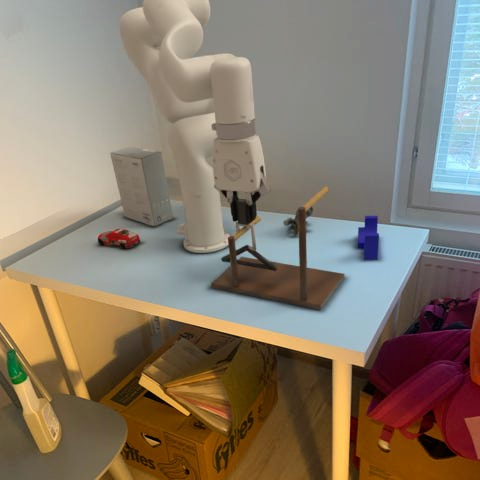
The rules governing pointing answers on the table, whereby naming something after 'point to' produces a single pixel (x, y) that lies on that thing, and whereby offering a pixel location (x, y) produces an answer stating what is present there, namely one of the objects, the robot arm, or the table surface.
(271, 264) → the hanger
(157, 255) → the table surface
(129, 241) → the race car
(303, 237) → the rack
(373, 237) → the cable clip
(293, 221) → the eagle figurine
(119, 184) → the hard drive box
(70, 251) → the table surface
